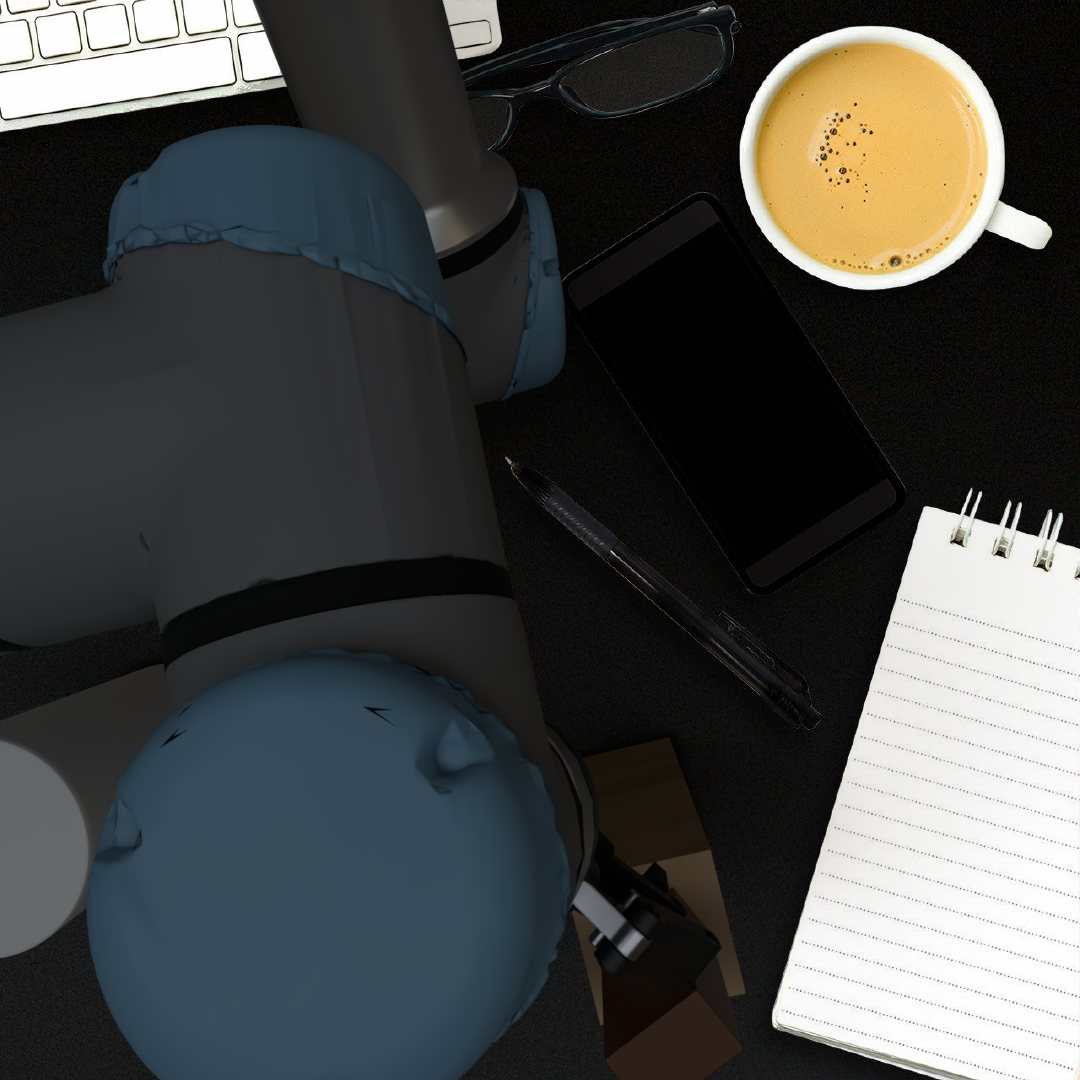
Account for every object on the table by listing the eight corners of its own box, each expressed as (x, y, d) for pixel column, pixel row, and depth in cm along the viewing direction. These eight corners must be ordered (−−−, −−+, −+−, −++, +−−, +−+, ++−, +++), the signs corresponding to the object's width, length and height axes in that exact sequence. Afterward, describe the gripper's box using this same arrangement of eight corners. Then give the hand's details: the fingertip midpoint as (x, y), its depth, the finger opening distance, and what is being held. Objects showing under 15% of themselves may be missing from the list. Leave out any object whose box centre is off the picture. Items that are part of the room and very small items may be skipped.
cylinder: (244, 821, 78) (84, 969, 53) (94, 811, 79) (-135, 952, 54) (251, 668, 78) (92, 744, 53) (99, 658, 78) (-129, 730, 53)
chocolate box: (673, 886, 51) (697, 989, 40) (710, 933, 51) (745, 1049, 40) (599, 943, 52) (603, 1060, 41) (637, 989, 52) (651, 1120, 41)
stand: (571, 760, 77) (564, 882, 52) (669, 737, 76) (710, 849, 51) (595, 857, 77) (600, 1025, 52) (693, 834, 76) (746, 994, 51)
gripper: (119, 647, 32) (326, 687, 52) (710, 1250, 26) (681, 1030, 47) (276, 478, 32) (419, 584, 53) (884, 1033, 27) (780, 910, 48)
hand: (542, 793), depth 50 cm, fingers open, 13 cm apart
